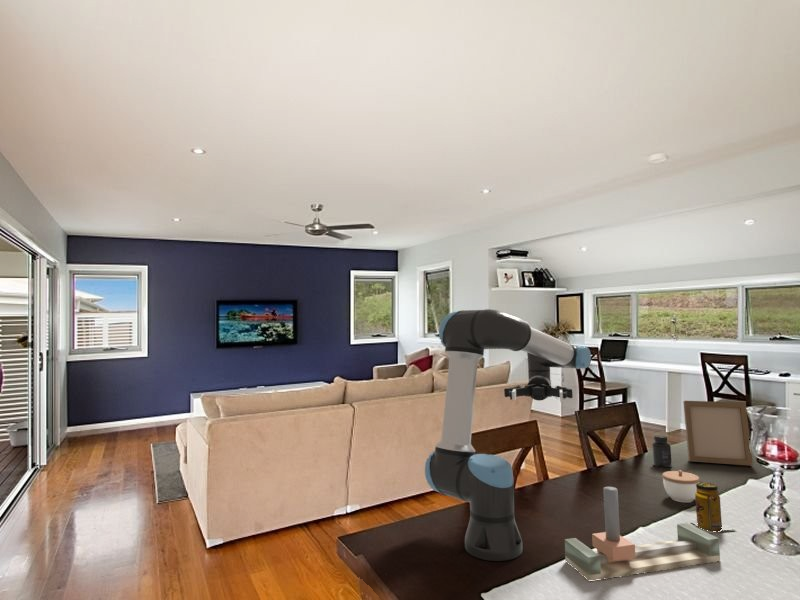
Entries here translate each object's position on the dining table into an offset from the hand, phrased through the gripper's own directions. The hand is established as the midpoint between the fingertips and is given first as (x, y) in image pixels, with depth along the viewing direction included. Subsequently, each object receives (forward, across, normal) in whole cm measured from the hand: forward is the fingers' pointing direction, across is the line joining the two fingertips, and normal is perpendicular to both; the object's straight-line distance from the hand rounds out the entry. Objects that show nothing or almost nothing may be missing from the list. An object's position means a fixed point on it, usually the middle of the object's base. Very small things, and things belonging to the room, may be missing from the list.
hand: (537, 396), depth 143 cm
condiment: (-13, -46, -38) cm, 62 cm away
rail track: (+14, -24, -38) cm, 47 cm away
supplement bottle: (-76, -46, -38) cm, 97 cm away
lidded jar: (-36, -44, -38) cm, 68 cm away
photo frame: (-88, -69, -38) cm, 118 cm away
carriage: (+18, -17, -36) cm, 44 cm away
